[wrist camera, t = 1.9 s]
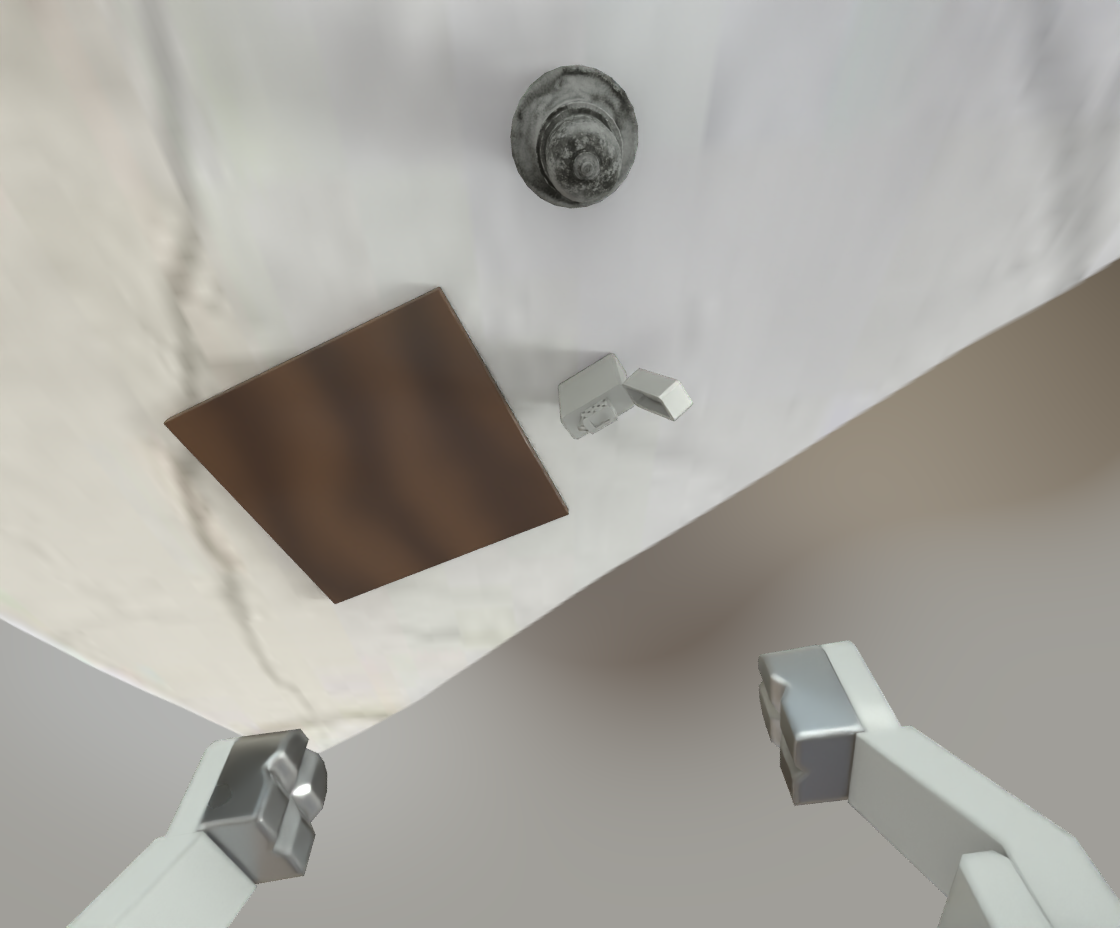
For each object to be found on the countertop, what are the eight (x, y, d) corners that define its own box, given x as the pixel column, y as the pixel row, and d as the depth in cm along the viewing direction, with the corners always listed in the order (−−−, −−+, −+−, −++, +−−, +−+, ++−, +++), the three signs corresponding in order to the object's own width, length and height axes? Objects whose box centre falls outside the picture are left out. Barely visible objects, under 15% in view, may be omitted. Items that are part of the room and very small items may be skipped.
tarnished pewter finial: (576, 32, 29) (598, 24, 19) (651, 136, 32) (705, 176, 22) (488, 127, 32) (467, 163, 22) (565, 217, 34) (579, 288, 24)
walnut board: (439, 286, 36) (438, 289, 35) (568, 509, 45) (569, 514, 45) (167, 418, 40) (162, 423, 39) (336, 599, 49) (334, 604, 49)
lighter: (571, 406, 40) (579, 476, 34) (556, 386, 40) (561, 454, 33) (668, 348, 38) (696, 410, 32) (654, 326, 38) (681, 385, 31)
